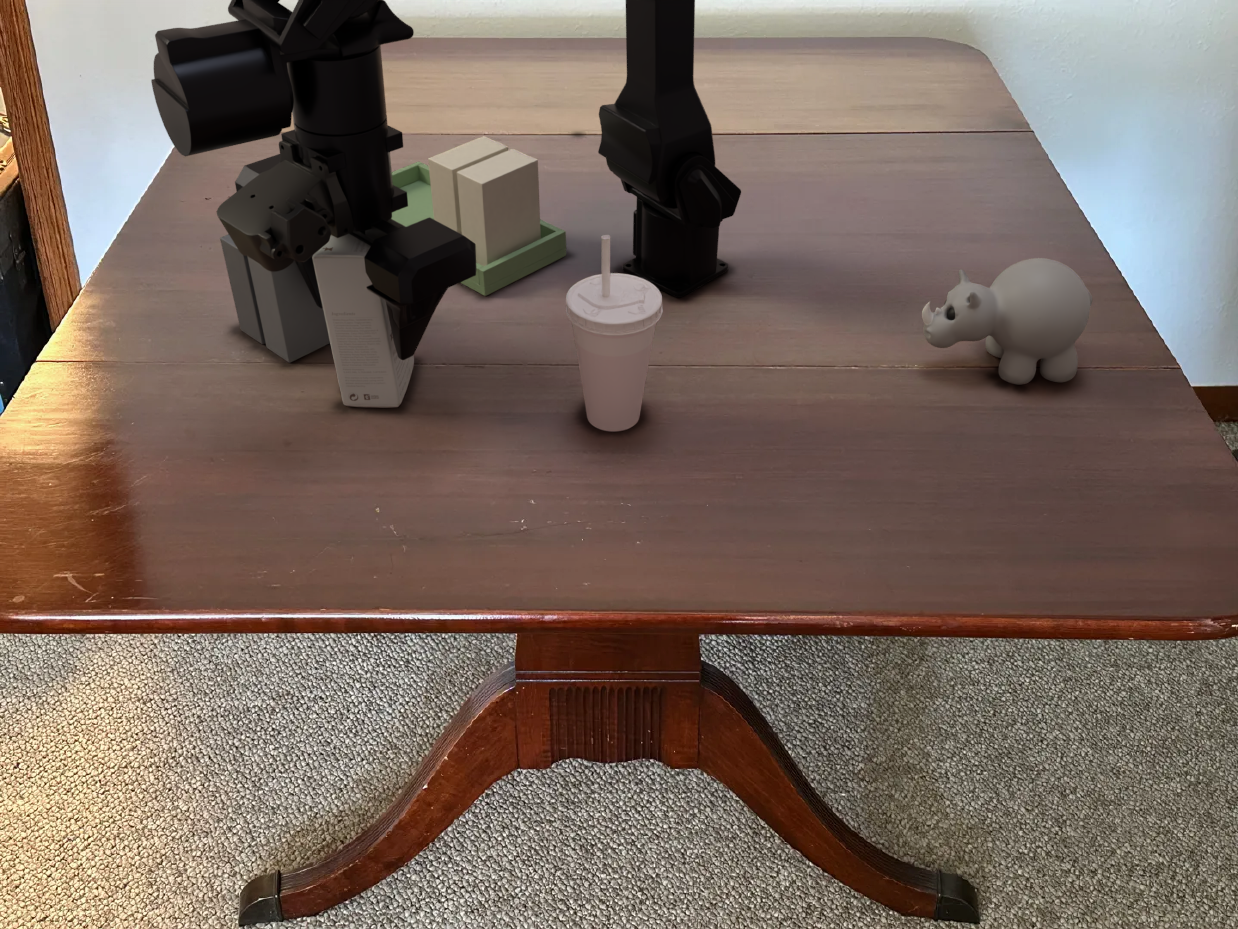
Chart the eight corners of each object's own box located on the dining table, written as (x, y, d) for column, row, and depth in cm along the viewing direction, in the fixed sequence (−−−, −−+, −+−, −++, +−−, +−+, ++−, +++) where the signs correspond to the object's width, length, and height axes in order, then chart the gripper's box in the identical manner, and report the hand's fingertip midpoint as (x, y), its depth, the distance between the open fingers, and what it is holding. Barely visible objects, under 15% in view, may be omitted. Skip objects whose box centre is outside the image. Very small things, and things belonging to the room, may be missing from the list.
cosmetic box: (402, 408, 85) (378, 257, 78) (339, 408, 86) (309, 257, 78) (416, 359, 90) (395, 212, 82) (356, 359, 90) (330, 211, 83)
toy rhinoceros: (900, 339, 93) (918, 241, 87) (1054, 337, 93) (1082, 239, 88) (921, 395, 87) (942, 293, 82) (1086, 392, 88) (1117, 290, 82)
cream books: (541, 248, 102) (538, 159, 97) (488, 274, 98) (481, 183, 93) (489, 222, 105) (483, 135, 100) (436, 246, 102) (427, 158, 97)
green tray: (566, 255, 102) (565, 231, 101) (485, 296, 97) (483, 271, 96) (421, 183, 113) (418, 160, 111) (340, 217, 107) (336, 193, 106)
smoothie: (574, 385, 88) (571, 210, 79) (662, 392, 87) (669, 216, 78) (561, 439, 83) (556, 259, 74) (654, 447, 82) (661, 266, 73)
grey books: (354, 331, 93) (340, 238, 88) (289, 363, 90) (270, 268, 85) (305, 300, 97) (288, 209, 91) (240, 330, 93) (219, 237, 88)
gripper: (143, 107, 75) (190, 321, 85) (322, 208, 66) (351, 437, 75) (294, 63, 82) (321, 267, 92) (477, 150, 72) (486, 368, 82)
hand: (364, 330), depth 85 cm, fingers open, 9 cm apart
